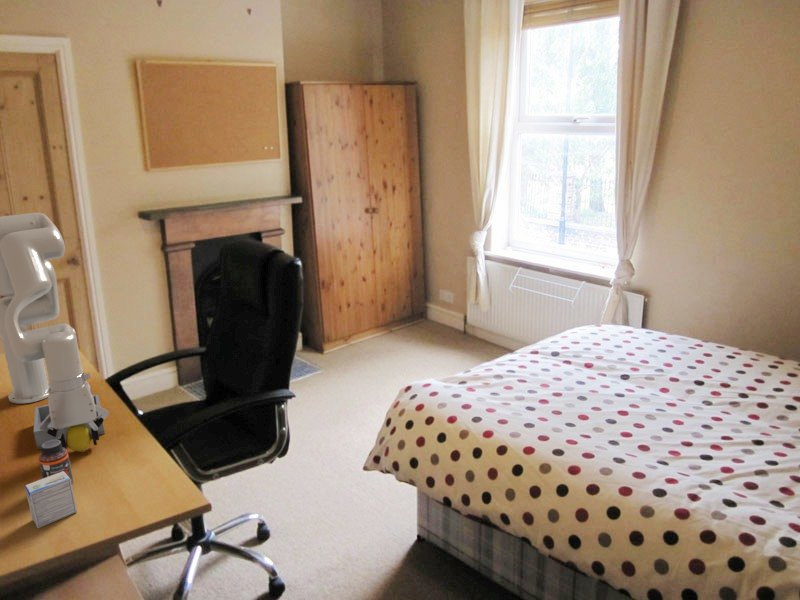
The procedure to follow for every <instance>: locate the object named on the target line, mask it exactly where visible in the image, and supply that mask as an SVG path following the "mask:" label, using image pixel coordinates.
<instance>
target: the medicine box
mask: <svg viewBox="0 0 800 600" xmlns="http://www.w3.org/2000/svg"><path fill="white" fill-rule="evenodd" d="M24 489H25V493H26V494H25V495H26V497H27V502H28V505H29V507H28V508H29V511H30V514H31V517H32V520H33V522H34V524H35V526H36V528H37V529H40V528H43V527H44V526H48V525H49V524H52V523H54V522H56V521H60V520H61V519H64V518H66V517H68V516H71V515H73V514H75V513H77V512H78V509H77V506H76V505H77V504H76V500H75V496H74V490H73V485H71V479H70V478H69V477H68V476H67V474H66V473H65V472H64V471H62V472H60V473H57V474H54V475H51V476H49V477H46V478H41V479H38V480H36V481H33V482H30V483H28V484H26V485H24Z"/></svg>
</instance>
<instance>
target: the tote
mask: <svg viewBox="0 0 800 600" xmlns="http://www.w3.org/2000/svg"><path fill="white" fill-rule="evenodd" d="M93 398H94V402H95V404H96V405H98V406H100V407H102V406H101V401H100V398H99V394H93ZM49 414H50V411H49V404H45V405H41V406H35V407H34V420H33V421H34V422H33V435H34V440H35V446H36V449H37V450H42V448H41V446H42V444H43V443H45V442H47V441H50V440H58V439H56V437H54V436H52V435H49V434H48V433H47V432H44V431H42V430H40V424H41V423H42V422H43V421H44V420H45V419H46V417H47V416H48V415H49ZM96 415H97V417H96V419H95V421H96V420H97V418H98V417H99V416H100V415H101V414H100V413H98V412H96ZM83 425H85V426H86V427H87V428H88V430H89V432H90V435H91V438H92V433H91V426H90V425H89V424H88V423H84V424H83ZM48 426H49V427H52V428H53V426H52V423H51V422H50V423H49V425H48ZM69 428H70V427H66V428H64V429H63V432H62V433H63V434H64V438H65V442H66V444H67V441H66V433H67V430H68V429H69ZM54 429H55V428H54ZM105 431H106V430H105V425H104V422H103V423H102V424H101V425H100V426H99V428H98V435H99V436H102V435H105V434H106V432H105Z"/></svg>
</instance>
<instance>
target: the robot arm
mask: <svg viewBox="0 0 800 600" xmlns="http://www.w3.org/2000/svg"><path fill="white" fill-rule="evenodd" d="M65 245H66V244H65V241H64V238H63V236H62V234H61V232H60V230H59V229H58V227H57V226H56V225H55V224H54V223H53V222H52V220H51V219H50V218H49V217H48V216H47V215H46V214H45V213H42V212H30V213H21V214H11V215H2V216H0V297H1V296H2V297H1V298H0V340H1V344H2V349H3V352H4V357H5V361H6V366H7V370H8V375H9V379H10V383H11V387H12V392H10V393H9V394H8V401H9V402H10V403H13V404H17V405H22V404H30V403H35V402H38V401H42V400H45V399H47V402H48V403H47V405H49V411H50V414H49V415H48V416H47V417H46V419H45V420H44V421H43V422H42V423H41V424H40V430H42V431H44V432H47V433H48V434H49V435H52V436H54V437H56V439H58V440H60V441H61V445H62V447H64V448H65V449H66V450H67V443H66V442H65V438H64V434H63V433H62V432H63V429H64V428H66V427H71V426H75V425H80V424H84V423H88V424H89V425H90V426H91V433H92V437H91V438H92V441H93V442H92V443H93V445H94V446H97V445H98V442H97V441H99V440H100V437H99V436H100V435H98V428H99V426H100V425H101V424H102V423H103V424H104V421H105V420H106V418H108V416H109V414H110V412H109V410H108V409H107V408H104V407H102V406H101V405H100V406H101V407H100V406H98V405H96V404H95V402H94V398H93V395H94V394H93V391H92V389H91V385H90V384H89V383H90V382H89V381H88V379H91V373H89V372H87V373H85V372H83V371H84V370H83V365H82V361H81V356H80V351H79V345H78V339H77V333H76V330H75V328H74V327H72V326H71V325H70V324H68V323H64V322H63V323H56V324H53V325H48V326H42V327H38V328H35V329H34V328H33V329H28V328H27V327H30V326H33V325H37V324H42V323H46V322H50V321H53V320H56V319H57V318H58V317H59V315H60V310H61V309H60V298H59V291H58V290H59V289H58V281H57V273H56V270H55V268H54V266H53V264H52V263H51V261H49V260H55V259H60V258H62V257H64V255H65V252H66V246H65ZM96 412H98V413H100V414H101V415H100V416H99V417H98V418H97V420H96V421H95V419H96V417H97V415H96ZM50 422H51V423H52V426H53V428H52V427H49V426H48V425H49V423H50ZM54 428H55V429H54Z"/></svg>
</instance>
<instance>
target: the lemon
mask: <svg viewBox="0 0 800 600" xmlns="http://www.w3.org/2000/svg"><path fill="white" fill-rule="evenodd" d="M91 438H92V437H91V435H90V432H89V430H88V428H87V427H86V426H85V425H83V424H80V425H75V426H71V427H70V428H69V429H68V430H67V433H66V441H67V443H66V445H67V446H68V447H69V449H71V450H72V451H74V452H80V453H82V452H83V451H84V450H86V449H87V448H88V447H89V445H90V444H91V440H92V439H91Z"/></svg>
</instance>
